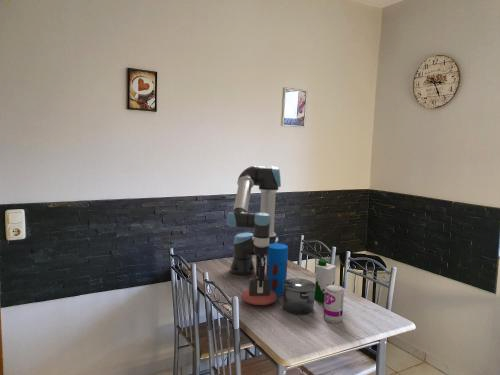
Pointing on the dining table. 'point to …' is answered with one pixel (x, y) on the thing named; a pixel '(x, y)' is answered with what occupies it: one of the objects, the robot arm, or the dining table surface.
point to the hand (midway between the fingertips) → (259, 291)
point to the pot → (298, 296)
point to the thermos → (277, 267)
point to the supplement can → (333, 303)
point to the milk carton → (323, 278)
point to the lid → (259, 298)
